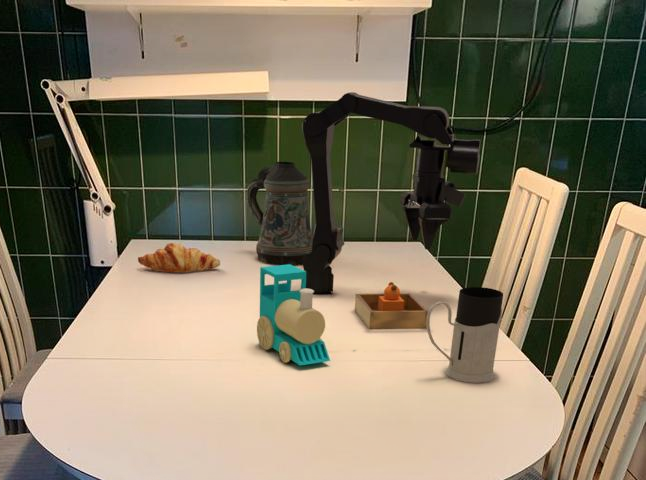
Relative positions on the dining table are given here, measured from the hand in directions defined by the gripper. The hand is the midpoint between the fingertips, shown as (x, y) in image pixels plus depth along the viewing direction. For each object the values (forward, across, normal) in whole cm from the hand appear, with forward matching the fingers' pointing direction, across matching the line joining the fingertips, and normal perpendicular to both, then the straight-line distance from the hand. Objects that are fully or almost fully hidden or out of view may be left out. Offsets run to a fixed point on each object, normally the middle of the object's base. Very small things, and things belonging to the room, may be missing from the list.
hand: (420, 244), depth 185 cm
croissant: (+14, +35, +53) cm, 65 cm away
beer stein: (+14, +46, +24) cm, 54 cm away
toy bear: (+13, -14, +10) cm, 21 cm away
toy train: (+14, -34, +34) cm, 50 cm away
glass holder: (+14, -47, +7) cm, 50 cm away
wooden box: (+13, -14, +10) cm, 22 cm away
